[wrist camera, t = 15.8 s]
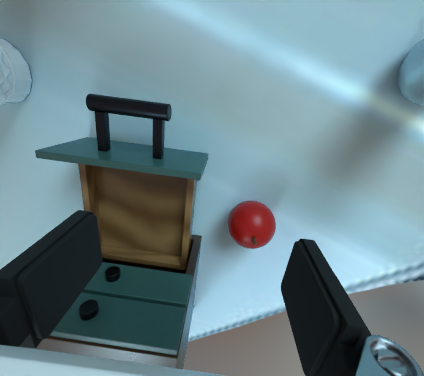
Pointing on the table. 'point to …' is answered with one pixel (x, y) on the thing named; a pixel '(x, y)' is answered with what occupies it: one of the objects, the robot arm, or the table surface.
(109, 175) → the drawer
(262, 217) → the apple
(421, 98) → the silver water bottle
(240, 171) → the table surface
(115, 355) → the cabinet
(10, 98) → the white cup
